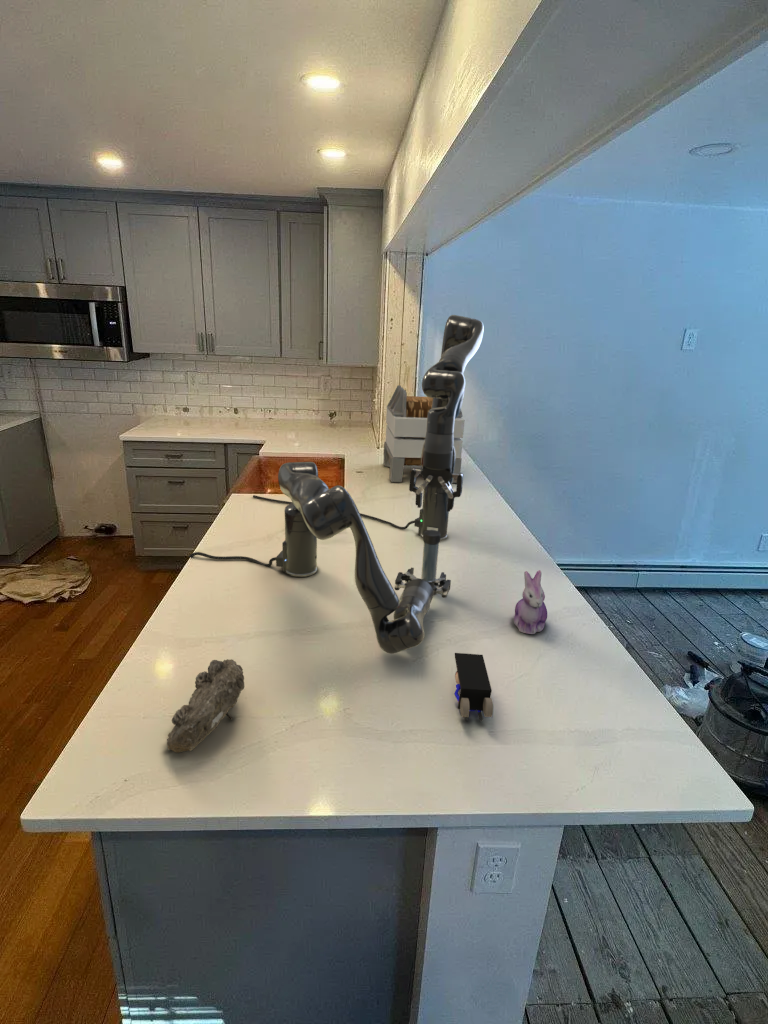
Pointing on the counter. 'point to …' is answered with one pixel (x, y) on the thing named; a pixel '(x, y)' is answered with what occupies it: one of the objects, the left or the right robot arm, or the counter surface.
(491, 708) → the black toy cart
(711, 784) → the counter surface
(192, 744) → the fossil
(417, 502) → the right robot arm
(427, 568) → the grey cylinder
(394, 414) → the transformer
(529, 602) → the figurine
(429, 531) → the lid
